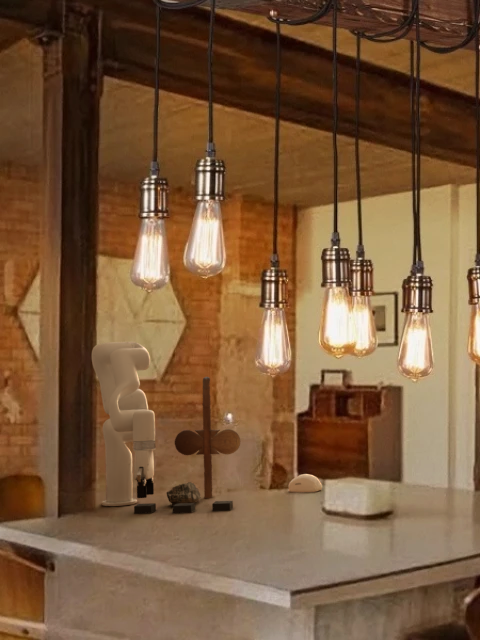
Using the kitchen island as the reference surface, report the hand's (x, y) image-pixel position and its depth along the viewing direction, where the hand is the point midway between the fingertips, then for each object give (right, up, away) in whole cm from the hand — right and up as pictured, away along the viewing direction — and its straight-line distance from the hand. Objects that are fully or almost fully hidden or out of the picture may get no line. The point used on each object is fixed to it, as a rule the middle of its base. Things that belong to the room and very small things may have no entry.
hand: (145, 496), depth 376 cm
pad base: (+14, -5, -2) cm, 15 cm away
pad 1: (0, -6, 0) cm, 6 cm away
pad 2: (+27, -5, 0) cm, 27 cm away
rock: (+10, -7, +17) cm, 21 cm away
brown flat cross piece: (+16, -8, +30) cm, 36 cm away
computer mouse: (+52, -8, +41) cm, 66 cm away
